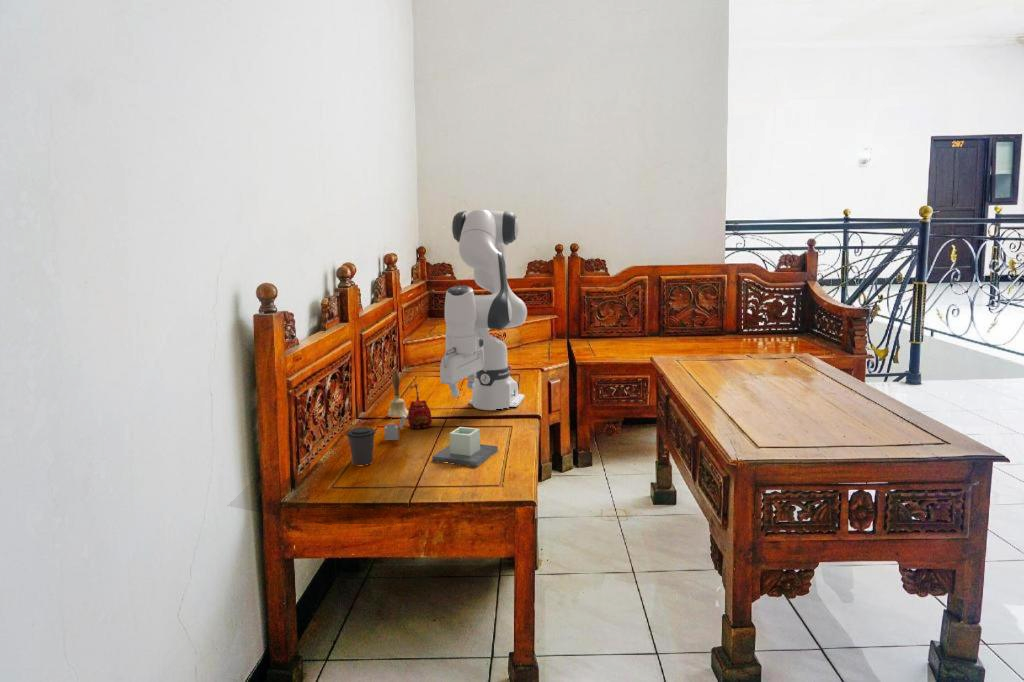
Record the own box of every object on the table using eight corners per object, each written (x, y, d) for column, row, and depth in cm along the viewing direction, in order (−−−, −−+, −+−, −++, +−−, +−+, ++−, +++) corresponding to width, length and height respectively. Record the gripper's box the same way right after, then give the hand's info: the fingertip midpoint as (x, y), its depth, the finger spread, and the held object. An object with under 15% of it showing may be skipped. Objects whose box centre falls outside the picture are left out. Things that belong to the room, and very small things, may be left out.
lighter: (385, 441, 223) (383, 416, 222) (385, 439, 225) (384, 414, 224) (408, 440, 224) (406, 415, 222) (408, 438, 225) (407, 413, 224)
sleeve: (460, 446, 212) (459, 426, 211) (480, 448, 210) (479, 428, 208) (450, 453, 206) (449, 433, 205) (470, 455, 204) (469, 435, 203)
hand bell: (383, 418, 247) (380, 373, 244) (390, 411, 255) (387, 367, 252) (406, 419, 246) (404, 373, 243) (413, 412, 254) (410, 367, 251)
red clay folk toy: (410, 431, 232) (408, 386, 230) (406, 425, 239) (404, 381, 236) (433, 428, 235) (431, 383, 232) (429, 422, 241) (427, 378, 239)
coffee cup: (352, 458, 209) (350, 424, 207) (380, 457, 208) (378, 424, 207) (345, 468, 201) (342, 433, 199) (373, 467, 200) (371, 433, 199)
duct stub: (455, 445, 217) (454, 425, 216) (497, 451, 212) (497, 429, 211) (432, 461, 205) (431, 439, 203) (476, 467, 199) (476, 444, 198)
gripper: (454, 352, 191) (456, 402, 194) (487, 338, 210) (488, 385, 212) (433, 351, 194) (435, 400, 197) (467, 337, 212) (469, 383, 215)
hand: (463, 392), depth 205 cm, fingers open, 8 cm apart
